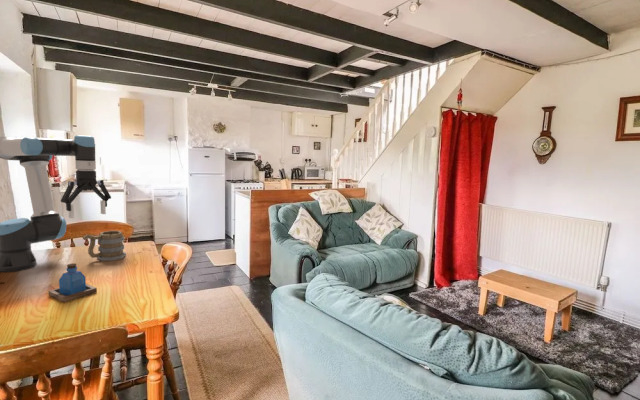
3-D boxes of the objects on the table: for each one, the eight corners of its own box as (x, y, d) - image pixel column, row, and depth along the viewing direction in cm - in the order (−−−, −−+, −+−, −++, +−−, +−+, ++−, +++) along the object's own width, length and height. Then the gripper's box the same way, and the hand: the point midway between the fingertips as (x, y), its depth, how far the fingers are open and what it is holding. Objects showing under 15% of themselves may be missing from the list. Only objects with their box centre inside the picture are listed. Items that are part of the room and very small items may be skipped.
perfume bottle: (71, 296, 133) (70, 268, 132) (59, 294, 135) (58, 266, 133) (86, 290, 139) (84, 263, 138) (74, 288, 141) (72, 261, 139)
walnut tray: (48, 295, 135) (48, 290, 134) (81, 285, 145) (81, 281, 145) (64, 302, 129) (63, 298, 129) (96, 292, 140) (96, 287, 139)
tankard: (118, 252, 193) (118, 227, 191) (129, 257, 186) (128, 231, 184) (78, 260, 177) (77, 232, 175) (88, 265, 170) (86, 237, 168)
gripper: (58, 171, 138) (61, 220, 141) (118, 170, 160) (119, 213, 163) (49, 169, 142) (52, 218, 145) (109, 169, 164) (110, 211, 167)
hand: (87, 215), depth 154 cm, fingers open, 13 cm apart
